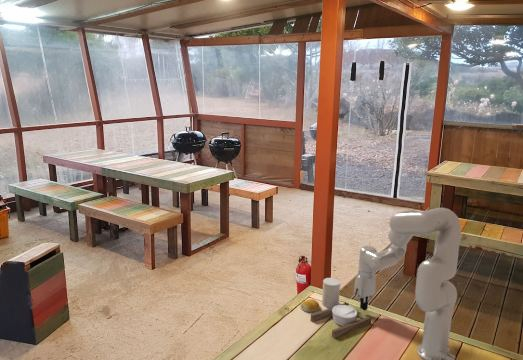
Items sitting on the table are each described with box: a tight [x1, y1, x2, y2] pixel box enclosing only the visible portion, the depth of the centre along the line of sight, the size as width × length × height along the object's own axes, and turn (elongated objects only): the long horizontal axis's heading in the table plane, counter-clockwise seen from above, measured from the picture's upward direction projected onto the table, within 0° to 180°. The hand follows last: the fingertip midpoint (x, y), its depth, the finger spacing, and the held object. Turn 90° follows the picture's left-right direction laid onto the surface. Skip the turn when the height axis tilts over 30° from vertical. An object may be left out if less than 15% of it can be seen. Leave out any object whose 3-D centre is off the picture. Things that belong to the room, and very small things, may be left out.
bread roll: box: [300, 299, 320, 313], centre depth 204 cm, size 8×9×4 cm
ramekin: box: [332, 304, 358, 327], centre depth 193 cm, size 11×11×5 cm
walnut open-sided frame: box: [310, 302, 372, 339], centre depth 192 cm, size 16×22×3 cm
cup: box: [321, 277, 341, 309], centre depth 207 cm, size 8×8×12 cm
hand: (363, 308), depth 200 cm, fingers closed
